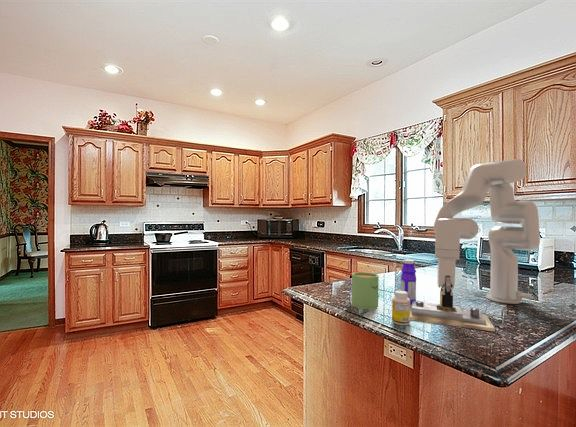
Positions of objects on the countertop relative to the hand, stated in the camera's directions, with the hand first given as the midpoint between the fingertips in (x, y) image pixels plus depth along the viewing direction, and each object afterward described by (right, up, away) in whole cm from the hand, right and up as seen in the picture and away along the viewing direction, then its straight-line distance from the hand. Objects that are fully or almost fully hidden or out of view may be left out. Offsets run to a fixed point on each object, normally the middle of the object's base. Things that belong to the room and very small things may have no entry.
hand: (446, 303), depth 106 cm
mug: (-24, -5, +15) cm, 29 cm away
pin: (0, -4, 0) cm, 4 cm away
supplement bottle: (-18, -5, -5) cm, 19 cm away
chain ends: (0, -5, 0) cm, 5 cm away
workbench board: (0, -5, 0) cm, 5 cm away
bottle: (-6, -5, +19) cm, 21 cm away
